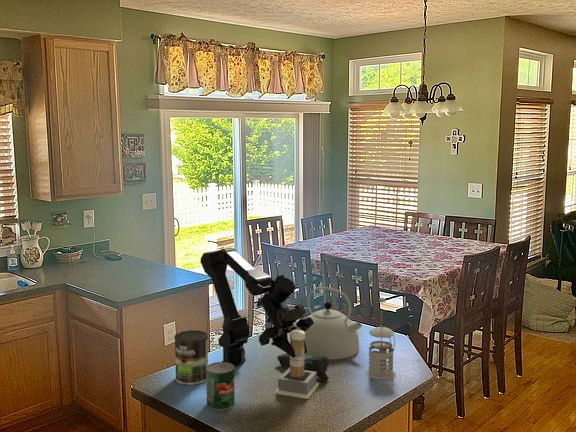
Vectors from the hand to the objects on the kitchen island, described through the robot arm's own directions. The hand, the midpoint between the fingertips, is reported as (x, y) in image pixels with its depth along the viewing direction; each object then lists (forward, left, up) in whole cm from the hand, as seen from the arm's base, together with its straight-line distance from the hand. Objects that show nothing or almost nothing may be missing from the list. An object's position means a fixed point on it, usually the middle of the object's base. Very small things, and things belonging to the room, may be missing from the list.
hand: (300, 355), depth 172 cm
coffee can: (-35, -4, -11) cm, 37 cm away
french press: (+20, +22, -11) cm, 32 cm away
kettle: (-2, +38, -11) cm, 40 cm away
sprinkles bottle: (-1, +1, -7) cm, 7 cm away
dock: (-1, 0, -11) cm, 11 cm away
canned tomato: (-18, -17, -11) cm, 27 cm away
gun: (-4, +14, -12) cm, 18 cm away
